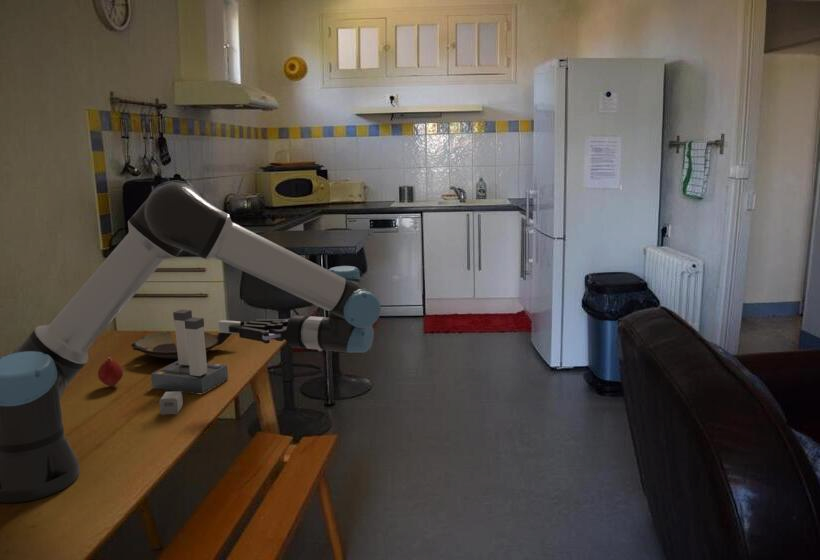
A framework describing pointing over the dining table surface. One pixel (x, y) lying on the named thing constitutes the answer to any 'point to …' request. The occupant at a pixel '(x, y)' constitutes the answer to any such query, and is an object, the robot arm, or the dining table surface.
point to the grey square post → (196, 346)
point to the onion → (110, 372)
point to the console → (188, 378)
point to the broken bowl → (172, 344)
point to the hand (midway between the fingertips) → (220, 326)
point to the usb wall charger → (171, 403)
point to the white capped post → (182, 335)
